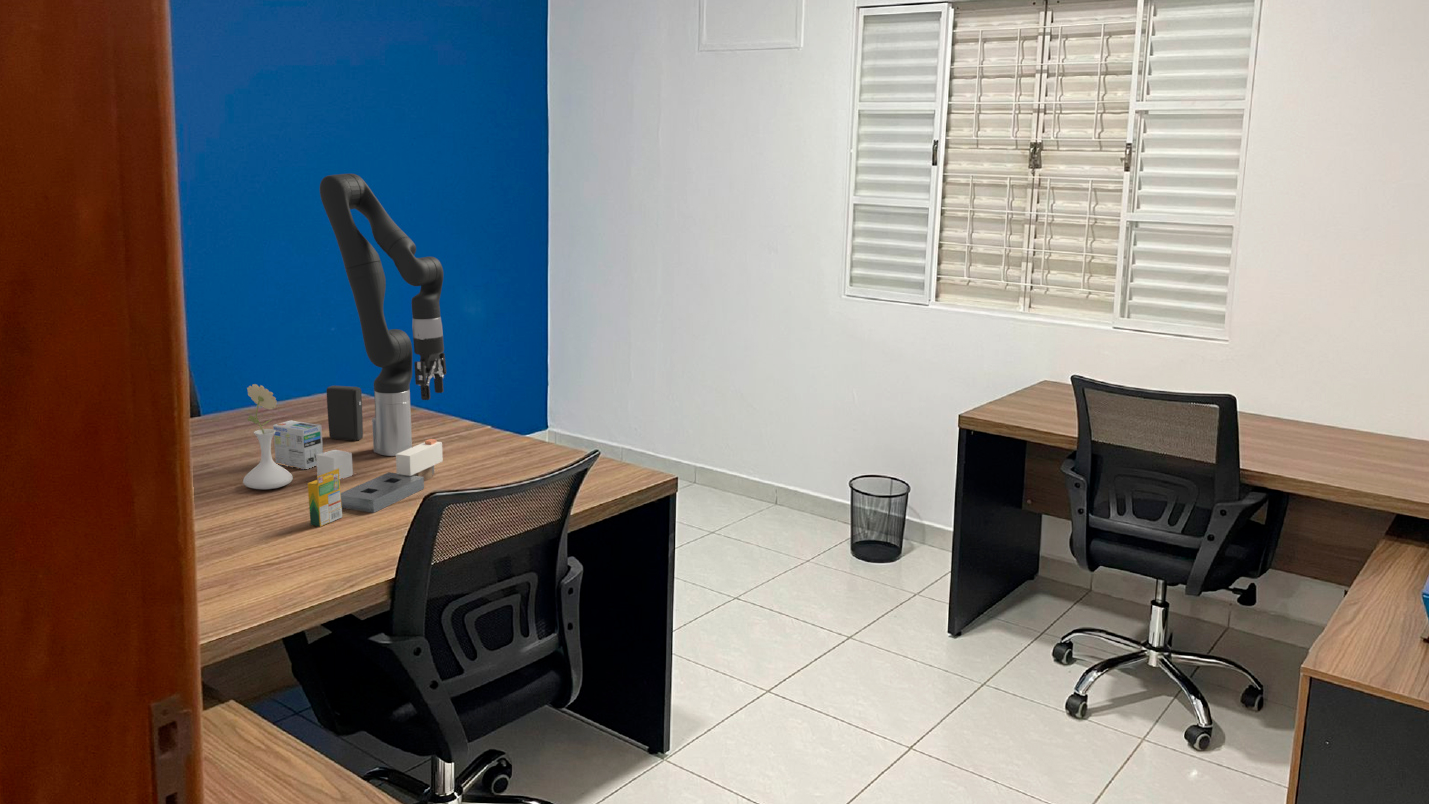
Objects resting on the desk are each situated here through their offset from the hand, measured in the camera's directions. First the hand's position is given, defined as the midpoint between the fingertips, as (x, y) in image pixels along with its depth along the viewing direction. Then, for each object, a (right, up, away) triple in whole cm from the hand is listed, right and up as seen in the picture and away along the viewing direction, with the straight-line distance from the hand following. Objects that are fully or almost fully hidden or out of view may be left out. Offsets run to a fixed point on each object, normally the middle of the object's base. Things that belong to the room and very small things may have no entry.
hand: (432, 396), depth 300 cm
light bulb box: (-34, -18, -2) cm, 39 cm away
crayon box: (-13, -28, -45) cm, 54 cm away
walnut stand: (0, -21, -13) cm, 25 cm away
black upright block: (-30, -12, +23) cm, 40 cm away
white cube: (-22, -21, -12) cm, 32 cm away
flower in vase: (-35, -22, -20) cm, 46 cm away
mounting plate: (-5, -24, -28) cm, 37 cm away
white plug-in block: (0, -21, -13) cm, 24 cm away
